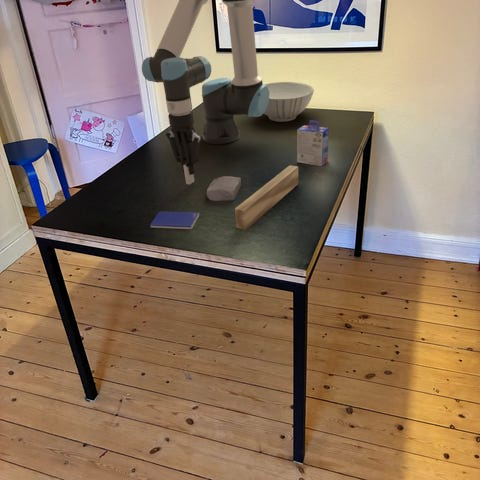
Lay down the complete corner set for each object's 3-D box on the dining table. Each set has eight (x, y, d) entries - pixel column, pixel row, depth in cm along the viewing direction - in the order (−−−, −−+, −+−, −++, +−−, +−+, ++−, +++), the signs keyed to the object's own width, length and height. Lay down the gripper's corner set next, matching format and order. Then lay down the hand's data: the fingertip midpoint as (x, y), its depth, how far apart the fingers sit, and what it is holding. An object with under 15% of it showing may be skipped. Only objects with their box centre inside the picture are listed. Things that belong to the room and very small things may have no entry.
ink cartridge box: (329, 161, 168) (330, 121, 160) (322, 167, 164) (323, 126, 157) (303, 157, 173) (303, 117, 165) (296, 162, 169) (296, 122, 161)
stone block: (207, 206, 150) (237, 201, 147) (202, 192, 148) (232, 187, 145) (215, 190, 160) (244, 185, 157) (211, 177, 158) (240, 172, 155)
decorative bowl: (293, 131, 197) (293, 102, 190) (240, 121, 211) (239, 93, 204) (323, 112, 215) (324, 85, 208) (272, 104, 228) (272, 78, 222)
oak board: (236, 227, 134) (234, 208, 131) (290, 182, 156) (289, 165, 153) (245, 229, 132) (243, 210, 129) (298, 183, 154) (298, 166, 151)
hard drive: (199, 211, 141) (159, 210, 144) (191, 225, 135) (150, 224, 137) (199, 216, 142) (160, 215, 145) (192, 230, 135) (151, 229, 138)
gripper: (156, 113, 146) (168, 183, 159) (189, 118, 140) (199, 190, 152) (171, 106, 152) (182, 174, 164) (204, 110, 145) (212, 181, 158)
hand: (190, 182), depth 158 cm, fingers closed
